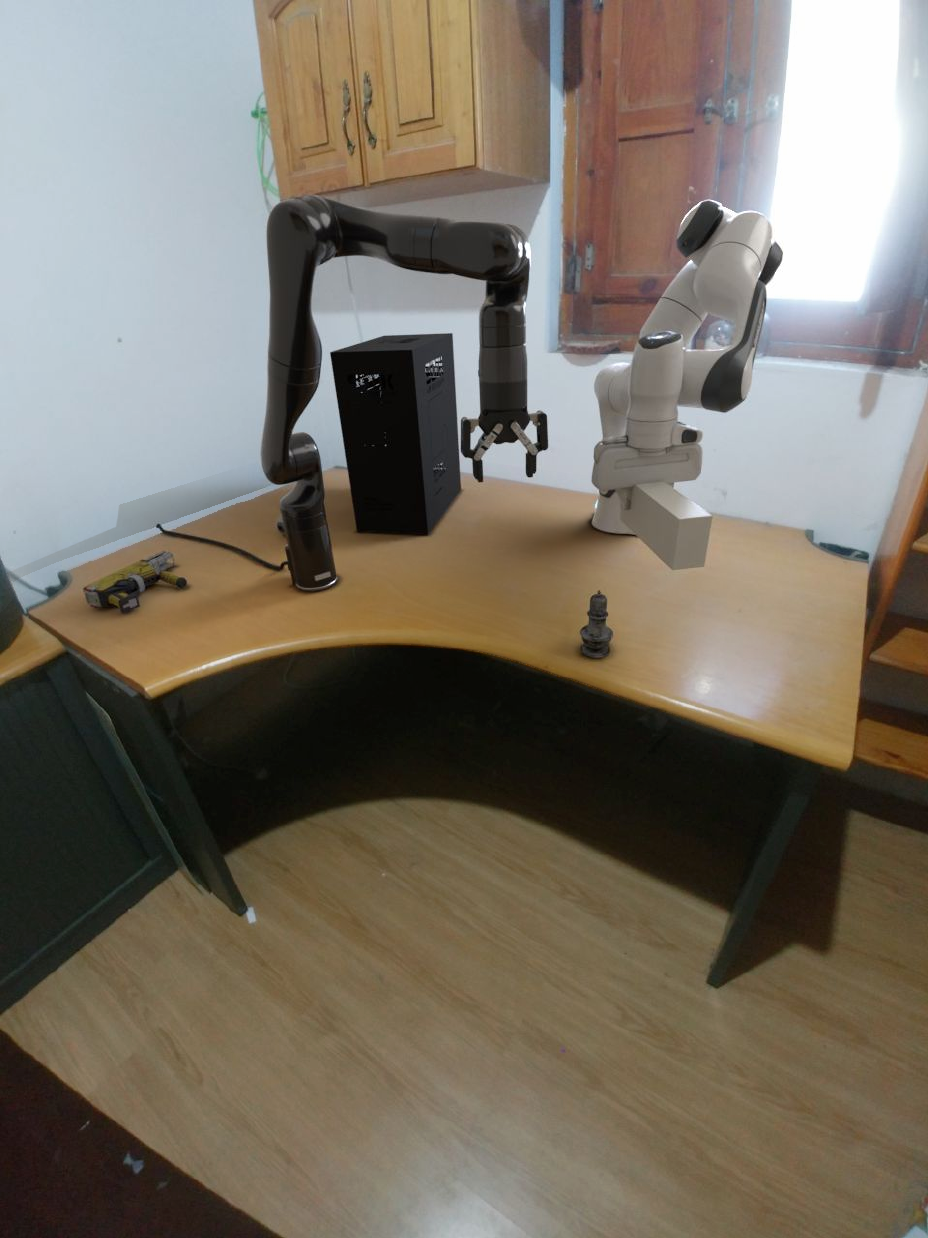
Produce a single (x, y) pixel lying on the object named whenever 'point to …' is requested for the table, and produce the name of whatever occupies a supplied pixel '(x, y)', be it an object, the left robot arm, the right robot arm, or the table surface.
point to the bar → (668, 524)
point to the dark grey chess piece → (596, 628)
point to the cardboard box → (399, 430)
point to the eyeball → (280, 524)
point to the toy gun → (131, 583)
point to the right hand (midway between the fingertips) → (642, 507)
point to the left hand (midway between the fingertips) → (504, 478)
